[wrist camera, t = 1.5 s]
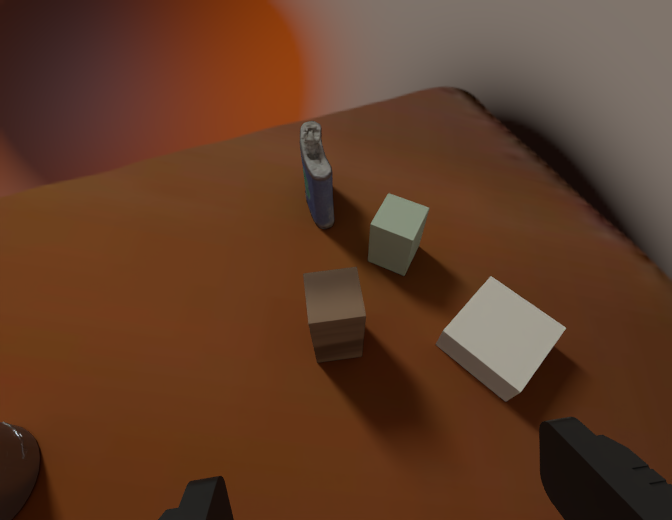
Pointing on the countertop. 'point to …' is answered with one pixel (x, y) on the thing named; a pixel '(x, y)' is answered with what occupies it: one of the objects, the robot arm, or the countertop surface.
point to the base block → (500, 338)
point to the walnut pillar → (335, 313)
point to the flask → (316, 175)
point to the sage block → (396, 233)
